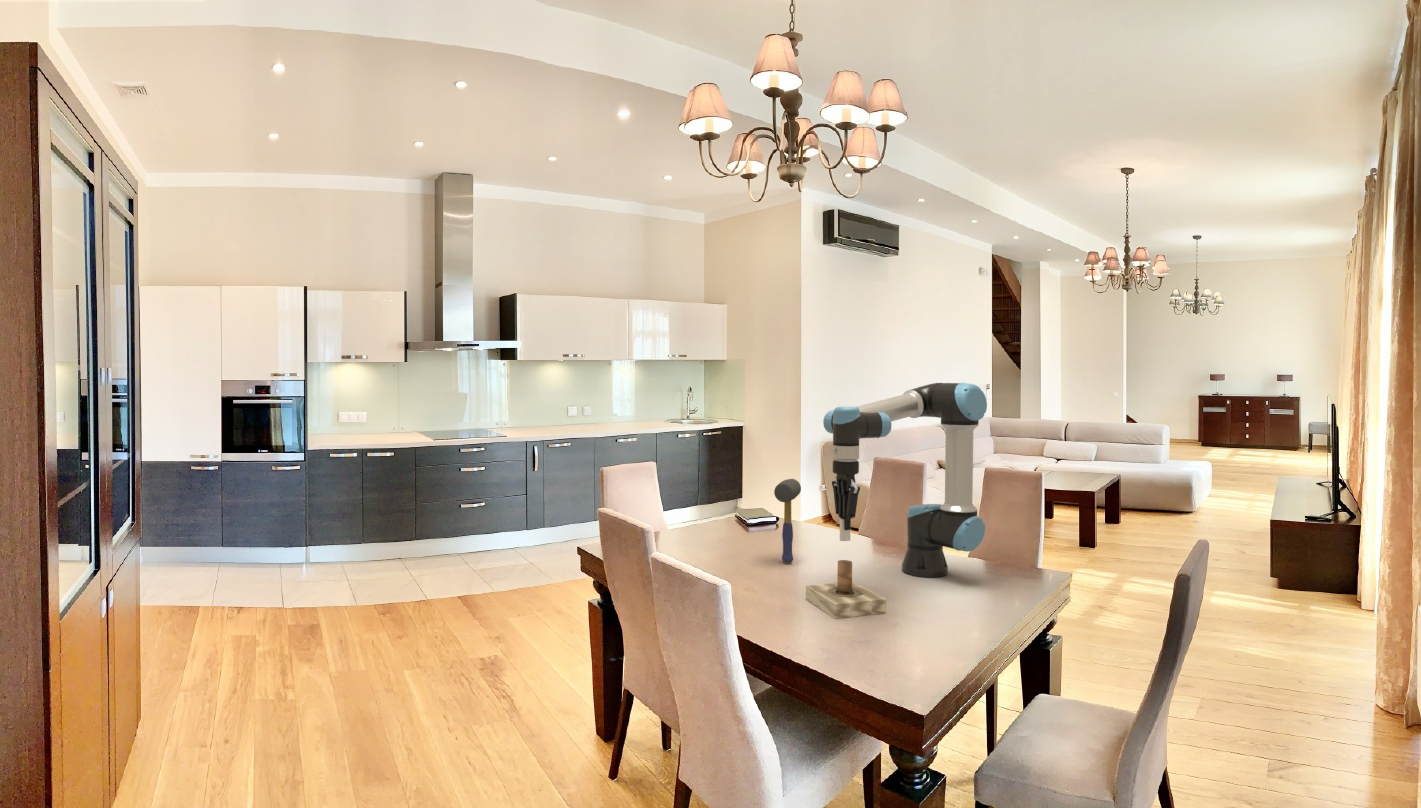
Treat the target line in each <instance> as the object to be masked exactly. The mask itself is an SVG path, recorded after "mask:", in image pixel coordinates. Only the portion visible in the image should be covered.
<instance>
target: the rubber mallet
mask: <svg viewBox="0 0 1421 808" xmlns="http://www.w3.org/2000/svg"><path fill="white" fill-rule="evenodd" d="M801 491H802V486H801V483H800V482H799V481H798V480H797V479H795V478H788V479H784V480H782V481H780V482H779V483H778V484H777V485H776V486H775V487H774V491H773V495H774V497H775V498H776V500H777V501H778V502H781V503H784V504H783V505H784V508H783V509H784V511H783V512H784V513H783V515H784V516H783V517H784V518H783V525H782V533H781V537H782V538H781V539H782V556H781V560H782V562H783V563H784V564H785V565H790V564H792V563H793V561H794V554H793V540H794V529H793V524H792V523H793V522H792V501H793V500H795V499H796V498H797V497H798V496H799V495H800V494H801Z"/></svg>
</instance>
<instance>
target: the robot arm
mask: <svg viewBox="0 0 1421 808" xmlns="http://www.w3.org/2000/svg"><path fill="white" fill-rule="evenodd" d="M987 408H988V403H987V398H986V394H985V393H984V391H983V390H982V389H981V387H980V386H978V385H976V384H973V383H967V382H933V383H929V384H926V385H925V384H924V385H921V386H918V387H914V388H911V389H907V390H906V391H904V392H903V393H902V394H900V395H896V396H893V397H889V398H886V399H881V400H876V401H873V402H869V403H865V404H862V405H858V406H836V407H835V408H834V409H833V410H831V409H830V410H828V411H827V412H826V413H825V415H824V417H823V421H822V422H823V428H824V429H825V431H826V432H827V433H829V434H832V445H833V446H832V449H831V451H832V458H833V461H832V473H833V474H836V476H835V480H832V481H831V486H832V491H833V498H834V499H833V501H834V509H835V515H837V516H838V517H839V541H841V542H849V541H851V528H852V527H851V522H852V521H851V519H853V518H855V517H856V514H857V505H858V499H859V493H860V490H861V486H860V485H859V486H858V485H856V478H855V476H856V475H857V474H858V475H859V473H860V461H859V459H860V439H874V438H875V439H876V438H877V439H879V438H885V437H887V436H888V435H889V434H890V433H891V431H892V422H894V421H895V422H896V421H898V420H902V419H905V418H912V419H918V418H923V417H925V418H938V419H940V425H941V426H942V428H944V431H945V452H944V453H945V456H944V461H945V462H944V463H945V464H944V503H942V504H941V503H928V504H915V505H911V506H909V508H908V510H907V517H906V520H907V521H906V522H907V548H906V552H905V554H904V558H903V560H902V563H901V571H902V572H903V573H905V574H906V575H910V576H914V577H920V578H940V577H945V576H947V575H948V573H949V567H948V563H947V559H946V556H945V554H944V550H943V549H944V548H943V547H945V548H949V549H953V550H955V551H962V552H972V551H975V550H976V549H977V548H978V547H979V546H980V544H981V543H982V541H983V540H984V538H985V537H984V536H985V535H986V533H985V532H986V525H985V522H984V520H983V519H982V518H980V517H979V516H978V508H977V507H976V506H975V505H974V503H973V497H974V496H973V490H974V488H973V487H974V486H973V485H974V484H973V483H974V482H973V481H974V479H973V478H974V475H973V474H974V472H973V471H974V431H975V430H976V428H977V427H978V426H979V423H980V422H979V421H980V420H981V419H983V418H984V417H985V414H986V412H987V410H988V409H987Z"/></svg>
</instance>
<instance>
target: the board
mask: <svg viewBox="0 0 1421 808" xmlns="http://www.w3.org/2000/svg"><path fill="white" fill-rule="evenodd" d="M805 600H806V601H808V602H809V603H811V604H812V605H814V606H815V607H817V608H819V609H820V610H822V611H823V612H824V613H826V614H827V615H829V616H831V617H832V618H833V619H843V618H853V617H861V616H863V617H864V616H870V615H871V616H872V615H879V614H886V613H887V598H885V597H883V596H881V595H880V594H878V593H876V592H874V591H872V590H871V589H868V588H866V587H864V586H863V585H861V584H859V583H858V582H855V581H853V580H852V592H851V595H840V594H839V592H838V591H837V582H833V583H824V584H822V583H820V584H813V585H805Z"/></svg>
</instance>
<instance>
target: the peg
mask: <svg viewBox="0 0 1421 808" xmlns="http://www.w3.org/2000/svg"><path fill="white" fill-rule="evenodd" d="M852 581H853V561H851V560H846V559H841V560H840V559H839V560H838V561H837V582H836V583H837V591H838V592H839V594H840V595H851V592H852Z"/></svg>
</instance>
